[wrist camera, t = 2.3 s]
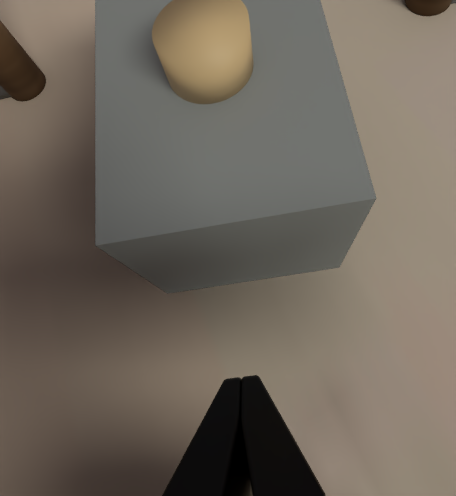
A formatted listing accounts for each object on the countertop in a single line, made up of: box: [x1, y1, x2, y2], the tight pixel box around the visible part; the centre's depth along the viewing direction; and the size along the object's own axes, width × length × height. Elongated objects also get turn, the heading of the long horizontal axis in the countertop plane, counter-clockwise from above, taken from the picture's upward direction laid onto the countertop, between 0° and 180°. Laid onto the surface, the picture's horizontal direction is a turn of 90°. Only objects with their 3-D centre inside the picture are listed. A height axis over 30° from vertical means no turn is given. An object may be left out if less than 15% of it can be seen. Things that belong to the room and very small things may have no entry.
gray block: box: [95, 0, 376, 294], centre depth 18 cm, size 14×10×11 cm
